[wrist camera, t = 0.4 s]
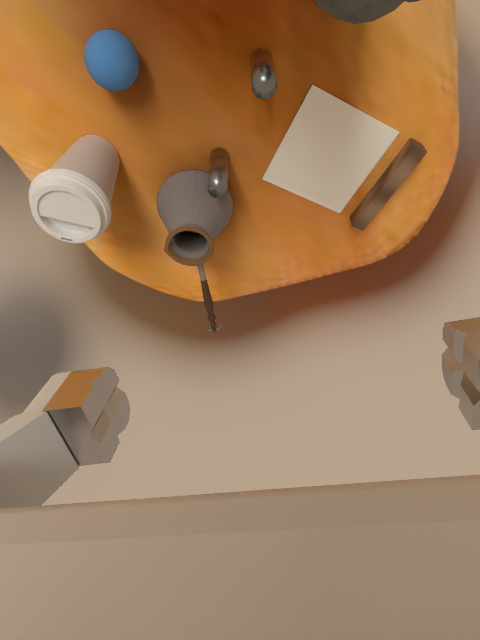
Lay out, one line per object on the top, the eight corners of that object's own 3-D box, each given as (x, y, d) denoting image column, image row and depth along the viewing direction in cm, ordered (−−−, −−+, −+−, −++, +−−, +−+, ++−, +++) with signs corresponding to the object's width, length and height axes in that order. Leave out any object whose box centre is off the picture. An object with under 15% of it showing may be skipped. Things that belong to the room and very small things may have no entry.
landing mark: (312, 84, 50) (312, 84, 50) (399, 131, 55) (399, 132, 55) (261, 178, 60) (261, 179, 60) (339, 212, 64) (339, 213, 64)
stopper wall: (410, 137, 55) (416, 145, 54) (421, 143, 56) (427, 151, 54) (349, 217, 65) (352, 226, 63) (359, 221, 65) (363, 230, 64)
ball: (96, 12, 45) (82, 25, 41) (148, 39, 47) (140, 53, 43) (88, 67, 49) (74, 84, 45) (136, 90, 51) (127, 108, 47)
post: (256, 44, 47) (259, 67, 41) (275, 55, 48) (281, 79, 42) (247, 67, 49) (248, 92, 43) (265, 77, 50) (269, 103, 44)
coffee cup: (51, 162, 58) (11, 221, 48) (77, 107, 52) (39, 160, 42) (112, 199, 62) (88, 260, 52) (142, 152, 57) (121, 210, 47)
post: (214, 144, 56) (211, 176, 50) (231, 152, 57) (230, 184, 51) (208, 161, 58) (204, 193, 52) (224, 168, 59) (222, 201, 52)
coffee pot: (148, 168, 59) (129, 227, 48) (225, 154, 57) (222, 212, 47) (187, 276, 74) (179, 338, 64) (249, 268, 73) (250, 330, 62)
